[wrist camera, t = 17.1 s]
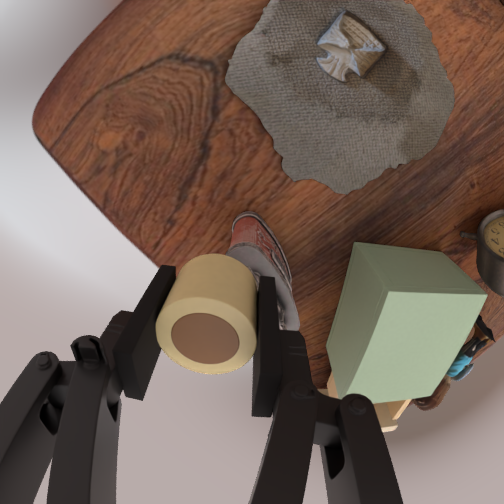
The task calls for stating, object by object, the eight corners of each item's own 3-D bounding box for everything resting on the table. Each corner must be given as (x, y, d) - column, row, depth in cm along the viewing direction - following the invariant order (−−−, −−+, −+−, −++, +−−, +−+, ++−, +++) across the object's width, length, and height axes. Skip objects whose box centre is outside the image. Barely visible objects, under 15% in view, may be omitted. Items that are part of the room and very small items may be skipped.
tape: (262, 257, 15) (263, 304, 11) (253, 326, 17) (251, 379, 13) (175, 248, 15) (150, 290, 11) (177, 317, 16) (159, 367, 13)
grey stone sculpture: (302, 210, 26) (304, 217, 25) (173, 6, 17) (168, 2, 16) (462, 133, 21) (471, 136, 20) (358, -63, 12) (363, -69, 11)
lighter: (298, 278, 28) (314, 352, 18) (266, 292, 28) (268, 369, 19) (258, 204, 25) (258, 254, 16) (223, 222, 25) (204, 280, 16)
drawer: (368, 411, 36) (378, 448, 30) (307, 415, 36) (312, 455, 29) (414, 326, 29) (438, 367, 23) (340, 326, 29) (356, 374, 23)
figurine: (391, 383, 34) (404, 416, 29) (467, 299, 28) (492, 327, 23) (421, 391, 36) (434, 420, 30) (489, 316, 30) (511, 342, 24)
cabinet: (404, 344, 31) (430, 396, 23) (325, 345, 31) (339, 405, 23) (442, 251, 26) (488, 294, 18) (353, 241, 26) (388, 291, 18)
